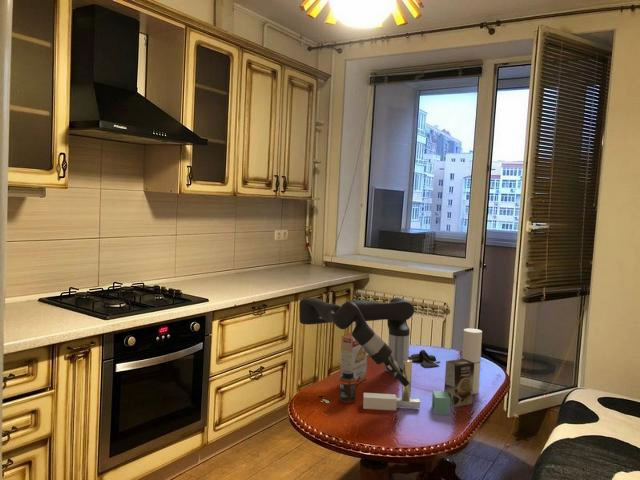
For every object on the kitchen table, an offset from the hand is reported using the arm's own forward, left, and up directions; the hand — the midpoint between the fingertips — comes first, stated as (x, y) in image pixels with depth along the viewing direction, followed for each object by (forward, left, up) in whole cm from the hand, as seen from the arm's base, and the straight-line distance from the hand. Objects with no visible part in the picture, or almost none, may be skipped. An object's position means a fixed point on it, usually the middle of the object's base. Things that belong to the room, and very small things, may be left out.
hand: (406, 380), depth 189 cm
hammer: (-4, -2, -10) cm, 11 cm away
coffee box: (+12, +19, -11) cm, 25 cm away
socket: (+10, +8, -11) cm, 17 cm away
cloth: (-23, +60, -11) cm, 65 cm away
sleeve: (-8, -5, -11) cm, 14 cm away
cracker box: (-30, +9, -11) cm, 33 cm away
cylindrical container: (+10, +35, -11) cm, 38 cm away
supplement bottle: (-20, -9, -11) cm, 24 cm away
